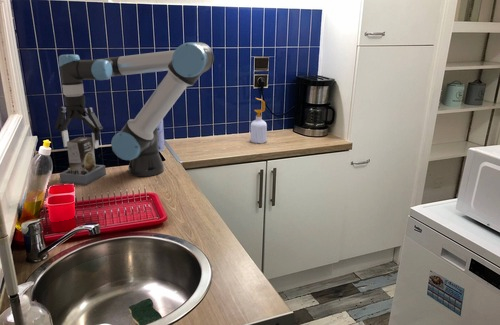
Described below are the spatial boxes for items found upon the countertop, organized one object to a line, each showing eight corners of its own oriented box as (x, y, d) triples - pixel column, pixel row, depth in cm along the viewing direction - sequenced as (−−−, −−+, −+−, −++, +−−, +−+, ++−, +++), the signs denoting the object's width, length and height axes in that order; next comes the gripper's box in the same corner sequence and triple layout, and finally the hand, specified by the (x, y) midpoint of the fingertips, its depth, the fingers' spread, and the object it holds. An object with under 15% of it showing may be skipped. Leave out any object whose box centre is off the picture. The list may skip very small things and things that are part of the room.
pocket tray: (106, 174, 177) (105, 164, 176) (87, 185, 164) (85, 175, 162) (81, 172, 179) (80, 162, 178) (60, 182, 166) (59, 172, 165)
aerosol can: (147, 149, 215) (144, 111, 209) (161, 146, 219) (158, 110, 213) (153, 152, 209) (150, 114, 203) (167, 150, 213) (165, 112, 207)
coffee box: (84, 181, 166) (80, 142, 161) (70, 179, 168) (65, 141, 163) (97, 173, 175) (93, 137, 170) (83, 172, 176) (79, 136, 171)
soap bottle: (248, 140, 235) (248, 97, 227) (263, 139, 238) (264, 96, 230) (253, 144, 227) (253, 99, 219) (268, 142, 229) (269, 99, 222)
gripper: (107, 94, 162) (113, 146, 168) (52, 93, 167) (60, 143, 173) (97, 97, 155) (103, 151, 161) (39, 95, 160) (48, 148, 166)
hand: (81, 147), depth 167 cm, fingers open, 13 cm apart
